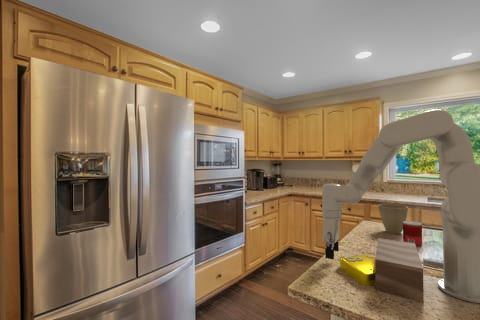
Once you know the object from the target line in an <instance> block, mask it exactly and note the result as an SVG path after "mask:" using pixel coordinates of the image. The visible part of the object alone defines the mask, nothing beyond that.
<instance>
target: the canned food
mask: <svg viewBox="0 0 480 320" xmlns="http://www.w3.org/2000/svg"><path fill="white" fill-rule="evenodd" d="M402 242H408V243H415V245H416V248H418V247H422V245H423V223H421V222H418V221H412V220H406V221H403V230H402Z"/></svg>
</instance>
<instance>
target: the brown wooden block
mask: <svg viewBox="0 0 480 320" xmlns="http://www.w3.org/2000/svg"><path fill="white" fill-rule="evenodd" d="M375 257H376V258H375V273H376V285H375V291H378V292H381V293H386V294H389V295H393V296H398V297H401V298H406V299H409V300H412V301H416V302H421V303H424V301H425V300H424V298H425V296H424V295H425V294H424V293H425V292H424V291H425V290H424V267H423V264H422V262H421V257H420V255H419V252H418V247H416V245H415V243H408V242H403V240H402V241H400V240H393V239H389V238H388V239H386V238H381V237H378V238H377V243H376V251H375Z"/></svg>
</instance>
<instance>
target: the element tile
mask: <svg viewBox="0 0 480 320" xmlns="http://www.w3.org/2000/svg"><path fill="white" fill-rule="evenodd" d="M375 258H376V256H374V255H371V254H360V255H349V256H347V255H346V256H340V258H339V269H341V270H342V271H343V272H345V273H346V274H347V275H349V276H350V277H351V278H353V279H354V280H356V281H357V282H358V283H359V284H361V285H365V286H376V273H375Z"/></svg>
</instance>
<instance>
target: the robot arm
mask: <svg viewBox="0 0 480 320" xmlns="http://www.w3.org/2000/svg"><path fill="white" fill-rule="evenodd" d="M424 140H430V141H431V142H432V143H433V144H434V145H435V147H436V151H437V157H438V165H439V166H438V168H439V180H440V182H441V183H442V185H444V187H446V189H447V197H446V198H445V199H444V200H442V203H441V205H440V215H441V223H442V248H443V252H442V254H443V256H442V257H443V262H442V263H443V278H441V279H439V280H437V286H438V288H439V289H440V290H441V291H443V292H444V293H446V294H447V295H449V296H452V297H453V298H456V299H458V300H462V301H466V302H470V303H474V304H480V165H479V164H477V163H476V162H475V161H476V160H475V156H474V155H475V154H474V151H473V146H472V141H471V138H470V137H469V135H468V134H467V132H466V130H464V129H463V128H462V127H461V126H460V125H458V124H457V123H455V122H454V119H453V116H452V114H451V113H450V112H448V111H446V110H444V109H431V110H427V111H423V112H421V113H417V114H415V115H411V116H408V117H405V118H401V119H398V120H395V121H392V122H389V123H387V124H385V125H383V127H382V128H380V130H379V133H378V135H377V137H376V138H375V139H374V141H373V142H372V143H371V145H370V147H368V149H367V151H366V152H365V154H363V157H362V158H361V160H360V163H359V164H358V167H357V169H356V171H355V172H354V174H353V176H352V177H351V178H350V180H349V181H348V183H347V184H345V185H344V184H343V185H341V184H338V183H324V184H323V185H322V186H321V199H322V200H321V204H322V205H321V207H322V210H321V211H322V213H321V214H322V217H323V226H322V227H323V228H322V229H323V230H322V242H323V243H324V242H325V246H324V247H325V248H324V249H325V250H324V253H325V258H326V259H327V260H328V259H329V260H334V259H335V252H339V243H340V242H339V238H340V219H342V218H343V217H342V215H343V213H342V212H343V209H342V207H343V206H342V205H343V204H349V205H356V204H359V202H360V201H361V200H362V198H363V196H364V195H365V194H366V192H367V191H368V190H369V188H370V186H371V185H372V184H373V183H374V181H375V180H376V179H377V177H378V176H380V175H381V174H382V173H383V172H384V171H385V169H387V166H388V165H389V164H390V162H392V160H393V158H394V157H395V156H396V154H397V153H398V151H399V150H400V149H401V148H402V146H403V145H404V146H405V145H408V144H412V143H417V142H420V141H424Z"/></svg>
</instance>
